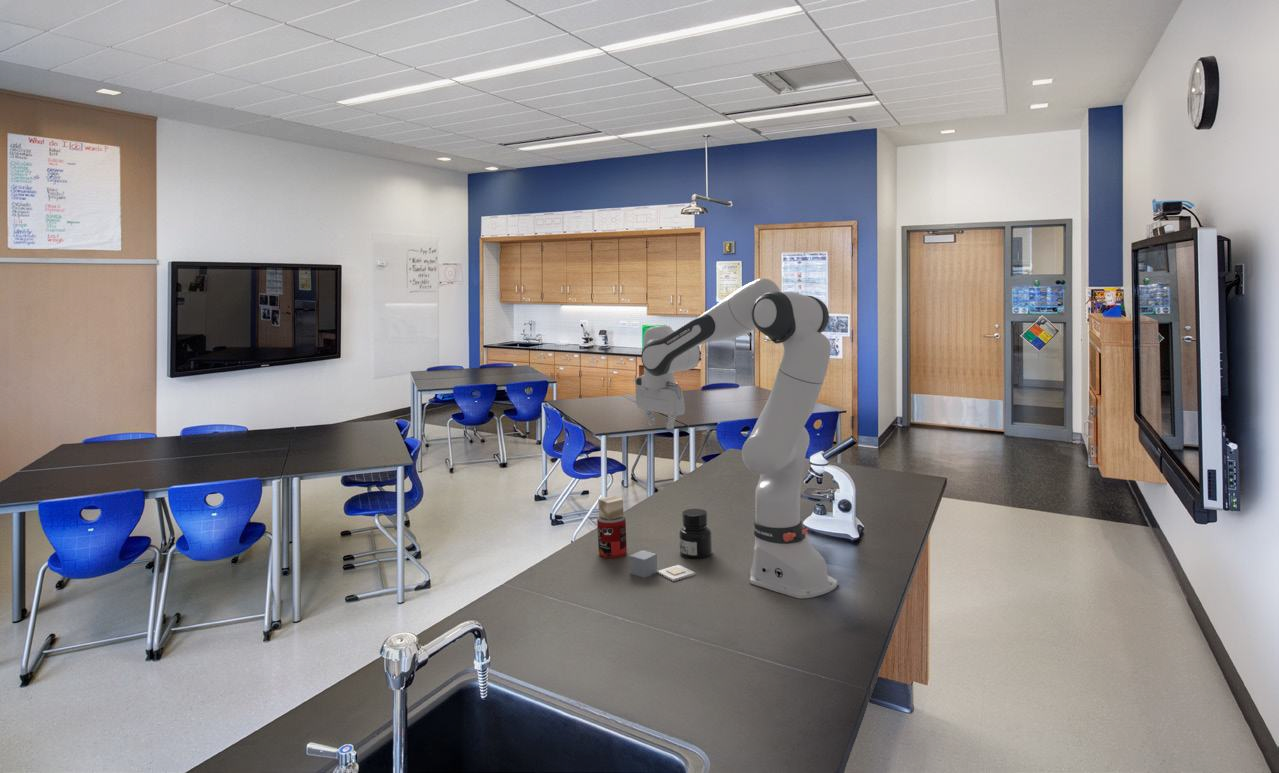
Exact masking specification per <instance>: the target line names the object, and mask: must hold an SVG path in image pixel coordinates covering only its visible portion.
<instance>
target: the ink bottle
mask: <svg viewBox="0 0 1279 773" xmlns="http://www.w3.org/2000/svg"><path fill="white" fill-rule="evenodd" d="M681 515H682V526H683V527H682V528H681V529H680V530H679V553H680V555H681V556H682V557H684V558H686V559H692V560H693V559H695V560H697V559H703V558H707V557H710V556H711V554H712V552H713V546H712V545H713V544H712V531H711V528H710V527H708V512H707V510H705V509H702V508H688V509H685V510H683V511H682V514H681Z"/></svg>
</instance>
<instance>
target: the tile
mask: <svg viewBox="0 0 1279 773" xmlns="http://www.w3.org/2000/svg"><path fill="white" fill-rule="evenodd" d="M656 573H657V574H658V573H659V574H658V575H660V574H661V575H660V576H662V575H663V576H662V577H663V578H665V577H666V579H667V578H668V579H667V580H669V579H670V580H669V581H671V580H672V582H673V581H674V582H677V581H679V579H680V580H682V578H683V579H685V577H686V578H690V577H692V576H695V575H696V572H695V571H693V570H690V569H689V568H686V567H684V566H682V565H681V564H676V565H673V566H669V567H666V568H662V569H659V570H657V572H656ZM676 580H677V581H676Z"/></svg>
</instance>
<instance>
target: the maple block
mask: <svg viewBox="0 0 1279 773" xmlns="http://www.w3.org/2000/svg"><path fill="white" fill-rule="evenodd" d="M597 500H598V503H597V504H598V516H600V517H602V518H604V519H607V520H612V519H616V518H620V517H624V515H625V514H624V499H623V498H620V497H618V496H615V495H610V496H606V497H605V496H604V497H601V498H598V499H597Z"/></svg>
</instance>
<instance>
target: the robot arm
mask: <svg viewBox="0 0 1279 773" xmlns="http://www.w3.org/2000/svg"><path fill="white" fill-rule="evenodd" d="M829 319H830V311H829V309H828V307H827V305H826V304H825V303H824V302H823V301H822V300H820V299H819V298H817V297H815V296H813V295H806V294H801V293H797V292H793V291H788V292H787V291H781V290H780V287H779V286H778V285H777V284H776V282H774V281H772V280H771V279H770V278H765V277H764V278H763V277H762V278H758V279H755V280H753V281H750V282H748V283H746V284H745V285H743V286H741V287H739V288H738V289H736V290H735V291H733V292H732V293H730V294H729V295H727V296H725V298H723V299H722V300H721V301H719V302H718V303H717V304H715V305H714V306H712V307H711V308H709V309H708V310H707V311H705V312H703V314H700V315H699V316H698V317H696V318H694V319H692V320H691V321H689V322H687V323H686V324H684V325H683V326H681V327H680V328H678V329H676V330H675V331H674V330H673V329H672V327H671V326H670V325H666V324H665V325H657V326H655V325H654V326H651V327H649V328H647V329H646V330H644V331H645V332H644V334H643V341H642V343H643V344H642V352H641V364H642V365H643V367H644V368H643V374H642V375H640V376H638V377H636V378H635V379H634V385H635V386H636V388H635V401H636V405H637V408H638V409H641V410H644V414H645V416H646V419H647V424H648V425H649V426H654V425H656V418H654V415H653V413H654V412H656V413H660V414H664V415H667V418H668V420H667V422H666V423H665V425H666V426H665V429H668V430H673V429H674V428H675V422H676V420H677V416H682V415H684V414H685V412H686V407H685V398H684V393H683V390H682V387H681V386H680V384H679V383H677V382H675V373H679V372H683V371H684V372H685V371H690V370H693V369H694V368H696V367H697V366H698V365H699V362H700V358H701V349H700V347H699V346H701V345H703V344H706V343H711V342H718V341H724V340H725V341H726V340H732V339H733V340H734V339H737V338H739V337H743V336H745V335H746V334H749V333H751V332H752V331H754V330H756V329H757V330H758V331H759V332H760V333H762V334H763V335H765V336H767V337H768V339H770V340H771V342H772V343H774V344H782V346H783V349H784V350H783V356H782V358H781V362H780V364H779V367H778V369H777V373H776V376H775V379H774V381H773V385H772V388H771V391H770V394H769V396H768V399H767V401H766V403H765V406H764V407H763V409H762V411H761V412H760V415H759V416H758V418H757V420H756V423H755V424H754V427H753V429H752V431H751V433H750V435H749V436H748V437H747V439H746V440H745V441H744V444H743V445H742V447H741V458H742V462H743V463H744V465H745V467H746V469H748V470H749V471H750V472H752V473H755V474H757V475H759V476H760V477H759V480H758V482H757V485H756V488H755V492H754V493H755V498H754V499H755V501H754V502H755V506H754V507H755V519H753V520H754V521H753V535H754V536H755V539H754V540H755V541H754V547H753V552H752V553H753V555H752V556H753V557H752V563H751V569H750V570H749V575H750V577H749V583H750V584H751V585H755V586H758V587H762V588H764V589H767V590H771V591H774V592H777V593H781V594H783V595H787V596H789V597H792V598H796V599H809V598H815V597H819V596H822V595H825V594H828V593H830V592H831V591H832V592H833V590H835V589H836V588H837V586H838V580H837V579H836V578H835V577H832V576H830V575H828V568H827V562H826V560H825V558H824V557H823V556H822V555H821V553H820V552H819V551H817V549H815V547H814V546H813V545H812V544H811V542H809V540H808V539H807V538H806V536H807V535H806V534H808V533H809V531H808V530H809V528H807V527H806V528H804V524H803V522H802V520H801V485H802V479H803V476H804V475H803V474H804V471H805V470H804V469H805V462H806V454H807V451H808V448H809V446H810V443H811V442H810V440H811V439H810V434H809V432H808V430H807V428H806V427H805V425H806V424H807V422H808V420H809V418H810V417H811V416H812V414H813V412H814V409H815V408H816V405H817V401H818V399H819V395H820V393H821V389H822V387H823V386H824V385H823V384H824V381H825V378H826V375H827V371H828V367H829V363H830V357H831V350H832V344H831V341H830V340H829V338H828V337H827V336H826V335H824V334H823V332H824V330H826V329H827V326H828V325H829V324H828V323H829Z"/></svg>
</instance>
